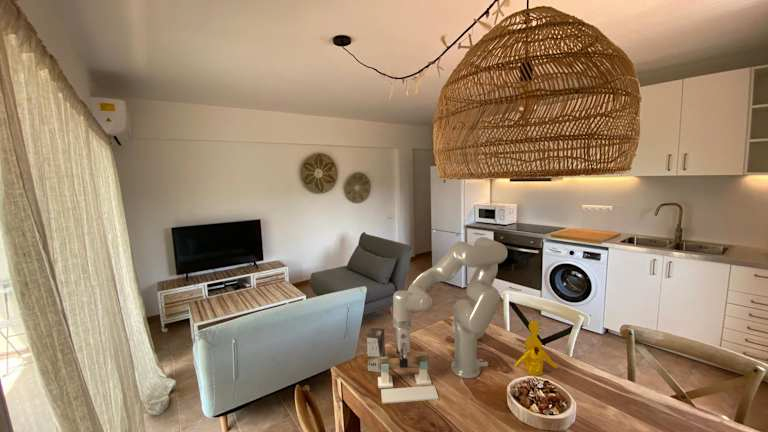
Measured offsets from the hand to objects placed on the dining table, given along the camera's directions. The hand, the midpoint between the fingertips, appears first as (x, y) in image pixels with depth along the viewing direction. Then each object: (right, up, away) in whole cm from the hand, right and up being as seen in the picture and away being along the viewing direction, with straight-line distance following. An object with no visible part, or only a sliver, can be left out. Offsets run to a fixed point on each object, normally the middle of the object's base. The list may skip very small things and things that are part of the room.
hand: (402, 359), depth 129 cm
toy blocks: (+9, -10, +2) cm, 13 cm away
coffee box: (-11, -9, +13) cm, 19 cm away
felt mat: (+2, -11, -6) cm, 13 cm away
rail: (+1, -3, +1) cm, 3 cm away
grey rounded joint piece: (+37, -4, +34) cm, 51 cm away
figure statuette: (+58, -8, +6) cm, 59 cm away
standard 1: (-7, -10, +1) cm, 13 cm away
